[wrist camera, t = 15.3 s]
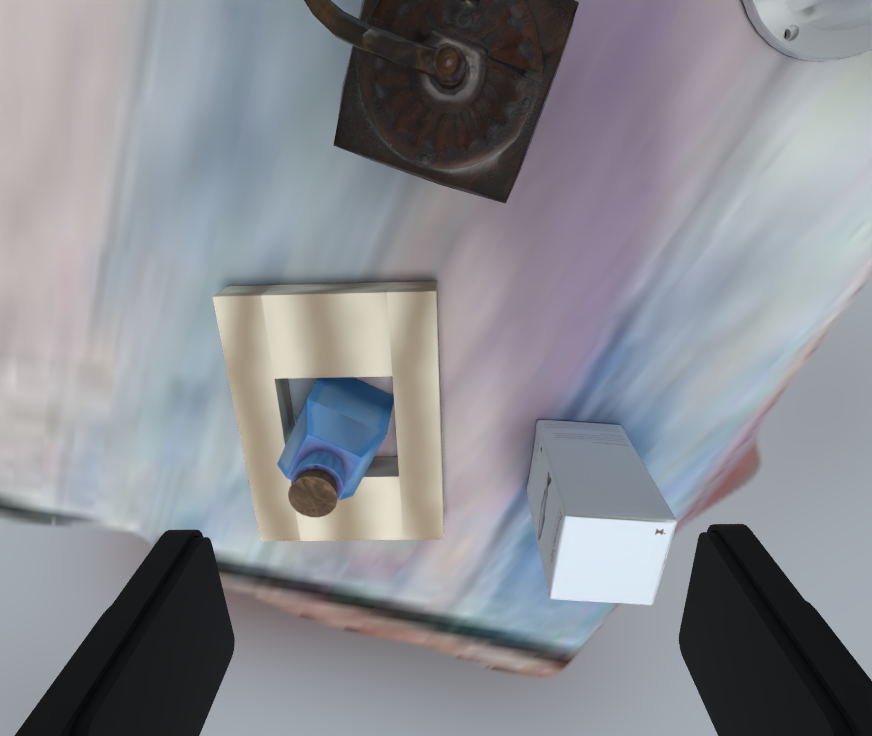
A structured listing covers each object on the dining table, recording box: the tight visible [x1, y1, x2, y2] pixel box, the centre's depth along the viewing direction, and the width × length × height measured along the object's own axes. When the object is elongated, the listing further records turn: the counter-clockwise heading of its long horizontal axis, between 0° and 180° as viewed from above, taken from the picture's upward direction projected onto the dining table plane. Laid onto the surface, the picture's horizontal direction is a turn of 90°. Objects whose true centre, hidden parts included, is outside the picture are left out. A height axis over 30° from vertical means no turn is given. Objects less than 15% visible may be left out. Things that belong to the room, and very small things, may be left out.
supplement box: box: [527, 420, 677, 605], centre depth 41 cm, size 7×7×13 cm
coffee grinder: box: [304, 0, 579, 203], centre depth 27 cm, size 16×11×18 cm
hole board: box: [213, 281, 444, 541], centre depth 44 cm, size 16×22×3 cm
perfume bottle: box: [277, 377, 394, 518], centre depth 40 cm, size 6×6×12 cm
